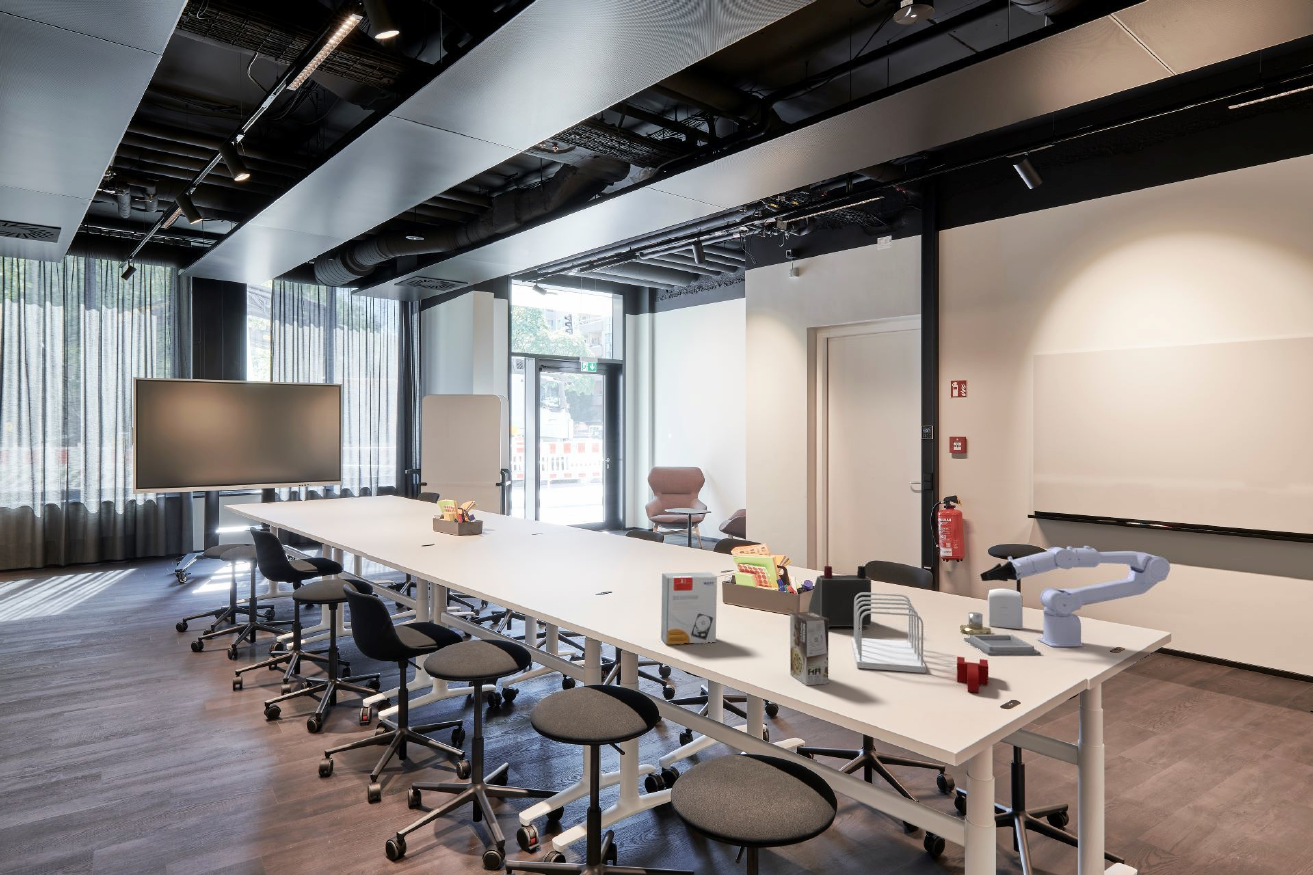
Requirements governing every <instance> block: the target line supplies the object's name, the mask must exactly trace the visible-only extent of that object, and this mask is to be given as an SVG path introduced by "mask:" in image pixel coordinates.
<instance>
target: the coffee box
mask: <svg viewBox="0 0 1313 875" xmlns="http://www.w3.org/2000/svg"><path fill="white" fill-rule="evenodd" d="M789 616H790V617H789V620H790V621H789V623H790V624H789V627H790V628H789V630H790V631H789V633H790V634H789V638H790V639H789V640H790V642H789V644H790V645H789V647H790V648H789V649H790V652H789V653H790V656H789V657H790V667H789V668H790V672H789V673H790V676H791V675H792V676H791V677H793V678H795V679H796V680H798V682H801V683H802V684H803V685H805V686H807V685H808V686H817V684H818V685H827V684H829V629H830V628H829V619H827V618H825V617H823V616H821V615H818V614H816V613H814V612H811V611H809V610H808V611H799V612H790V613H789Z"/></svg>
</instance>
